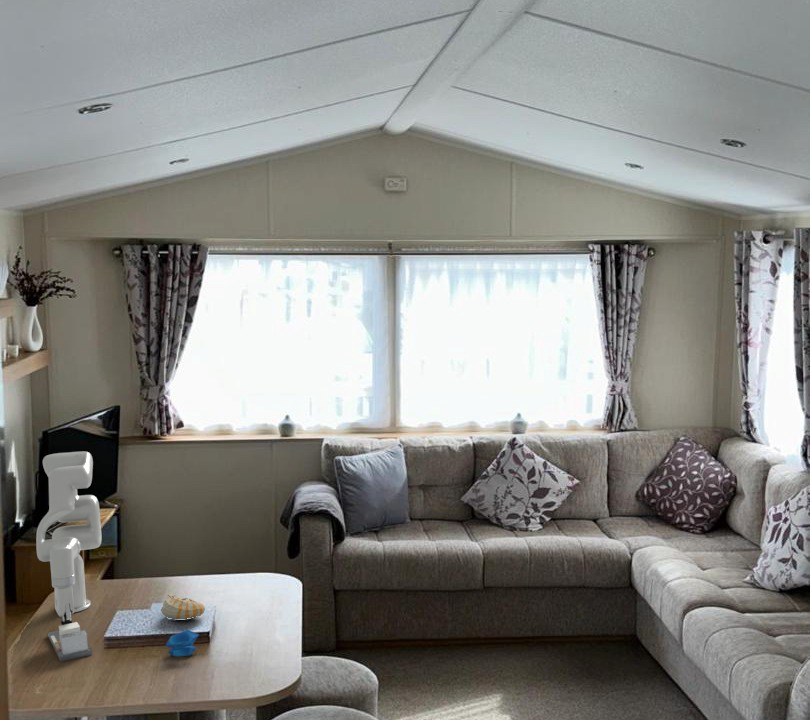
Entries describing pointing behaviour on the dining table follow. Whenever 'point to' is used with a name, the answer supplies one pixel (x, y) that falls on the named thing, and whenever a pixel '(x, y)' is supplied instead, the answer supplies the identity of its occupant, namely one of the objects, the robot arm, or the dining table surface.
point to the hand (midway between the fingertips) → (67, 631)
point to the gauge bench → (71, 656)
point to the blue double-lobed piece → (182, 643)
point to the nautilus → (181, 608)
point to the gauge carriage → (68, 629)
